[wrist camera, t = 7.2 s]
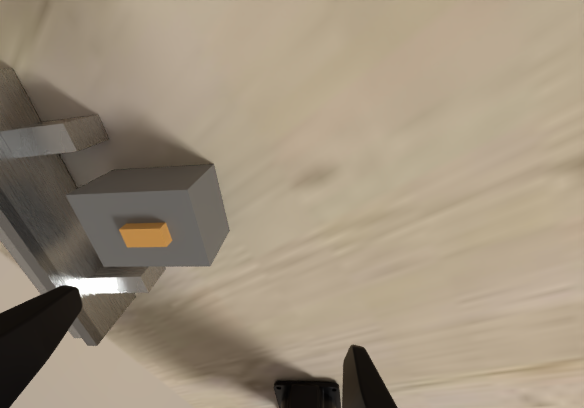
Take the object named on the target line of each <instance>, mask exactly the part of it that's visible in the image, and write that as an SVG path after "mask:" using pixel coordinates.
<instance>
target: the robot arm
mask: <svg viewBox="0 0 584 408" xmlns="http://www.w3.org/2000/svg"><path fill="white" fill-rule="evenodd" d="M82 306H83V303H82V300H81V296H80V292H79V289H78V288H77V287H73V286H69V285H62V286H59V287H57V288H55V289H53V290H50V291H48V292H46V293H44V294H42V295H40V296H37V297H35V298H33V299H31V300H28V301H26V302H24V303H22V304H20V305H18V306H15V307H13V308H11V309H9V310H7V311H4V312H2V313H0V408H9V407H10V406H11V405H12V404H13V402H14V401H15V400H16V399H17V397H18V396H19V395H20V394H21V392H22V391H23V390H24V389H25V387H26V386H27V385H28V384H29V383H30V381H31V380H32V379H33V377H34V376H35V375H36V374H37V373H38V371H39V370H40V369H41V368H42V366H43V365H44V364H45V362H46V361H47V360H48V359H49V357H50V356H51V354H52V353H53V352H54V350H55V349H56V347H57V346H58V344H59V343H60V341H61V340H62V338H63V337H64V335H65V334H66V332H67V331H68V329H69V328H70V327H71V325H72V324H73V322H74V321H75V319H76V318H77V316H78V315H79V313H80V312H81V309H82ZM274 390H275V394H276V397H277V401H278V405H279V408H341V402H340V390H339V385H338V384H337V383H327V382H293V381H276V382H275V383H274ZM342 408H397V406H396V404H395V402H394V400H393V399H392V397H391V395H390V393H389V391H388V389H387V388H386V386H385V384H384V382H383V380H382V378H381V377H380V375H379V373H378V371H377V369H376V368H375V366H374V364H373V362H372V360H371V358H370V357H369V355H368V353H367V351H366V349H365V348H364V347H362V346H357V345H351V346H350V348H349V350H348V352H347V354H346V357H345V359H344V363H343V397H342Z"/></svg>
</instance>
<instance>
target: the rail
mask: <svg viewBox="0 0 584 408" xmlns="http://www.w3.org/2000/svg"><path fill="white" fill-rule="evenodd" d="M106 140H109V138H108V136H107V134H106V132H105V129H104V127H103V125H102V122H101V120H100V118H99V116H98V115H93V116H85V117H78V118H70V119H62V120H55V121H47V122H41V120H40V119H39V117H38V115H37V113H36V111H35V109H34V107H33V106H32V104H31V102H30V100H29V98H28V96H27V94H26V93H25V91H24V89H23V87H22V85H21V83H20V82H19V80H18V78H17V76H16V74H15V72H14V70H13V69H0V241H1V242H2V243H3V245H4V246H5V247H6V249H7V250H8V251H9V253H10V254H11V255H12V257H13V258H14V259H15V261H16V262H17V263H18V265H19V266H20V267H21V269H22V270H23V271H24V273H25V274H26V275H27V276H28V278H29V279H30V280H31V282H32V283H33V284H34V286H35V287H36V288H37V290H38V291H39V292H40V293H41V295H42V294H44V293H46V292H48V291H50V290H53V289H55V288H57V287H59V286H62V285H69V286H73V287H77V288H78V289H79V292H80V296H81V300H82V303H83V306H82V309H81V312H80V313H79V315H78V316H77V318H76V319H75V321H74V322H73V324H72V325H71V327H70V328H69V329H68V331H69V332H70V333H71V335H72V336H73V337H74V338H82V339H83V340H84V341H85V343H86V344H87V345H89V346H97V345H98V344H99V343H100V341H101V340H102V339H103V338H104V336H105V335H106V334H107V333H108V331H109V330H110V329H111V328H112V326H113V325H114V324H115V322H116V321H117V320H118V319H119V317H120V316H121V315H122V314H123V312H124V311H125V310H126V308H127V307H128V306H129V305H130V303H131V302H132V301H133V300H134V298H135V297H136V296H135V295H134V293H147V292H149V291H150V290H151V288H152V287H153V286H154V284H155V283H156V282H157V280H158V279H159V278H160V276H161V275H162V274H163V272H164V271H165V270H166V268H165V266H159V267H104V266H103V264H102V262H101V261H100V259H99V257H98V255H97V253H96V251H95V249H94V247H93V246H92V244H91V242H90V240H89V238H88V236H87V234H86V232H85V231H84V229H83V227H82V225H81V223H80V221H79V219H78V217H77V216H76V214H75V212H74V210H73V208H72V206H71V204H70V202H69V201H68V199H67V197H66V195H67V194H68V193H70V192H72V191H74V190H76V189H77V187H76V185H75V183H74V182H73V180H72V178H71V176H70V174H69V172H68V170H67V169H66V167H65V165H64V163H63V161H62V159H61V157H60V156H59V154H58V153H67V152H76V151H79V150H82V149H85V148H88V147H90V146H93V145H96V144H98V143H101V142H104V141H106Z"/></svg>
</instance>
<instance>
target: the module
mask: <svg viewBox="0 0 584 408" xmlns="http://www.w3.org/2000/svg"><path fill="white" fill-rule="evenodd" d="M66 197H67V199H68V201H69V202H70V204H71V206H72V208H73V210H74V212H75V214H76V216H77V217H78V219H79V221H80V223H81V225H82V227H83V229H84V231H85V232H86V234H87V236H88V238H89V240H90V242H91V244H92V246H93V247H94V249H95V251H96V253H97V255H98V257H99V259H100V261H101V262H102V264H103V266H104V267H159V266H211V264H212V262H213V260H214V258H215V256H216V255H217V253H218V251H219V249H220V247H221V245H222V244H223V242H224V240H225V238H226V236H227V234H228V233H229V231H230V230H229V226H228V221H227V217H226V213H225V209H224V204H223V200H222V196H221V192H220V187H219V183H218V179H217V175H216V170H215V166H214V164H207V165H189V166H171V167H153V168H135V169H117V170H112V171H110V172H108V173H106V174H105V175H103V176H101V177H99V178H97V179H95V180H93V181H91V182H89V183H87V184H86V185H84V186H82V187H80V188H78V189H76V190H74V191H72V192H70V193H68V194H67V195H66Z"/></svg>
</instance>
